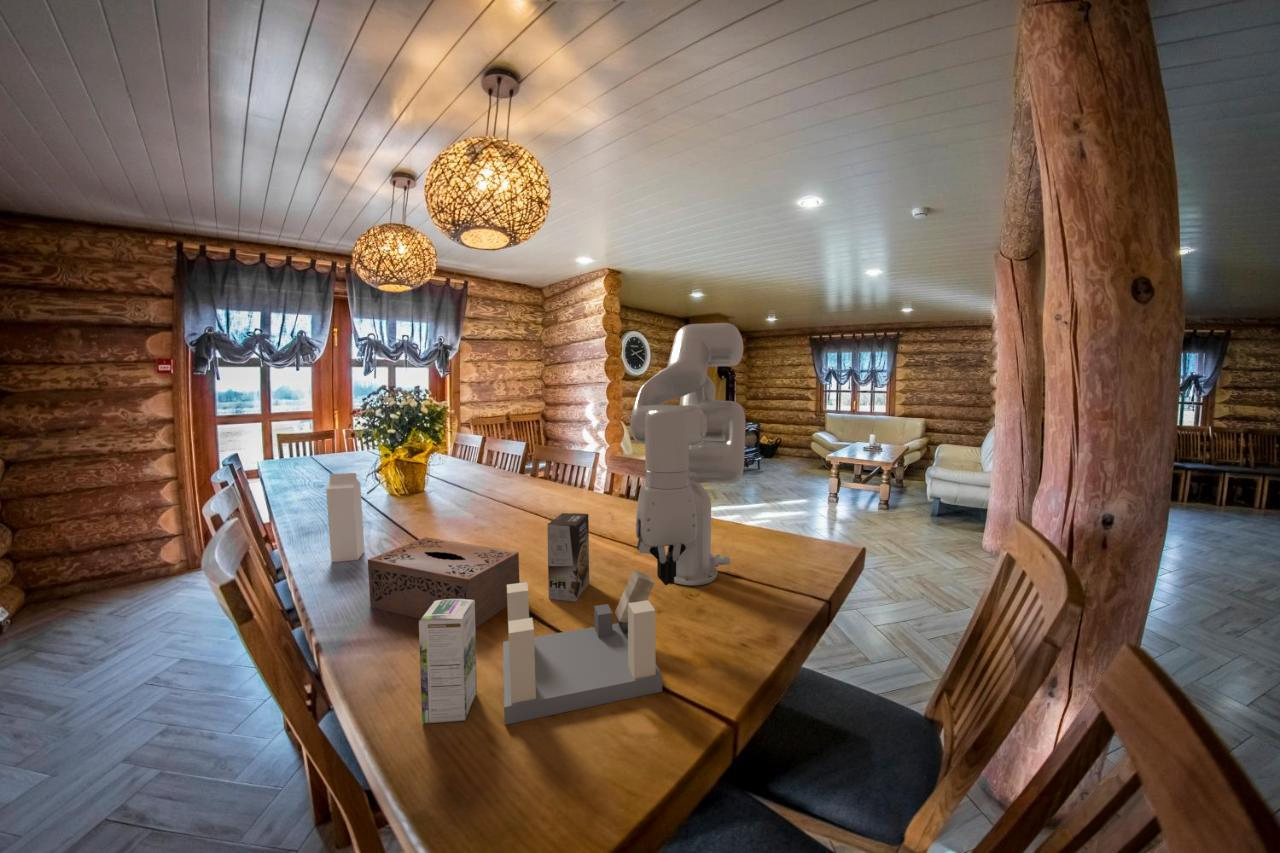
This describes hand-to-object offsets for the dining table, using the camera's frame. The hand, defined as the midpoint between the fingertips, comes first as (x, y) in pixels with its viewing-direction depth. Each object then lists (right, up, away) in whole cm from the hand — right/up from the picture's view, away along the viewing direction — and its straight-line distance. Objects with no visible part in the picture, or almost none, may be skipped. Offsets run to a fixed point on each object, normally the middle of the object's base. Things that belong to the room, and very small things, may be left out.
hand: (666, 581), depth 82 cm
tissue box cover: (-45, -9, +14) cm, 48 cm away
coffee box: (-20, -8, +18) cm, 28 cm away
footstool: (-14, -11, -10) cm, 21 cm away
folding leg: (-8, -8, -2) cm, 11 cm away
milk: (-80, -7, +38) cm, 89 cm away
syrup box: (-31, -12, -18) cm, 38 cm away
